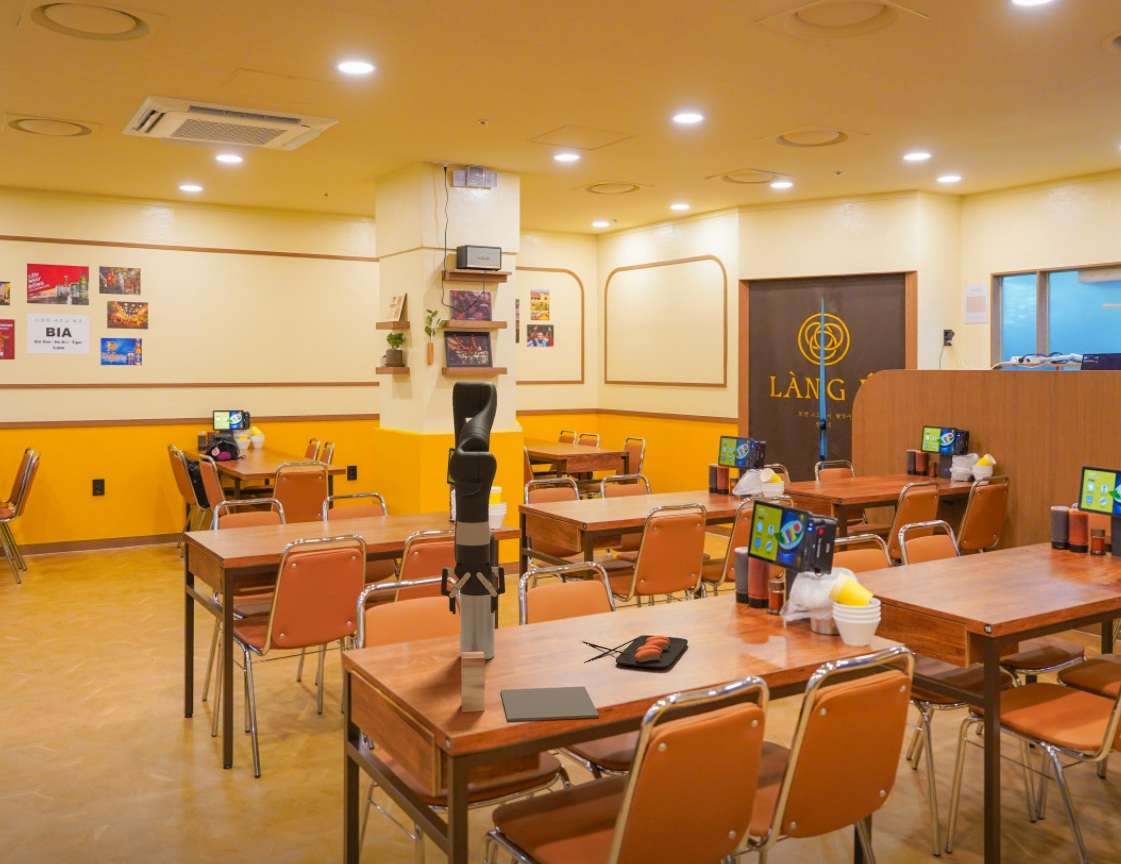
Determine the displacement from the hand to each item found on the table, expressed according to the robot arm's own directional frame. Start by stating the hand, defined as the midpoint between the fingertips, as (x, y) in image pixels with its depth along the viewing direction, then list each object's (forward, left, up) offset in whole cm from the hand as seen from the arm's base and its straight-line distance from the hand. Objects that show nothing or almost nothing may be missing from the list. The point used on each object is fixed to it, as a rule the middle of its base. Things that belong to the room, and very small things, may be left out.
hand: (473, 613), depth 219 cm
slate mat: (0, +17, -22) cm, 27 cm away
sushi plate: (-40, +43, -22) cm, 63 cm away
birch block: (0, 0, -22) cm, 22 cm away
